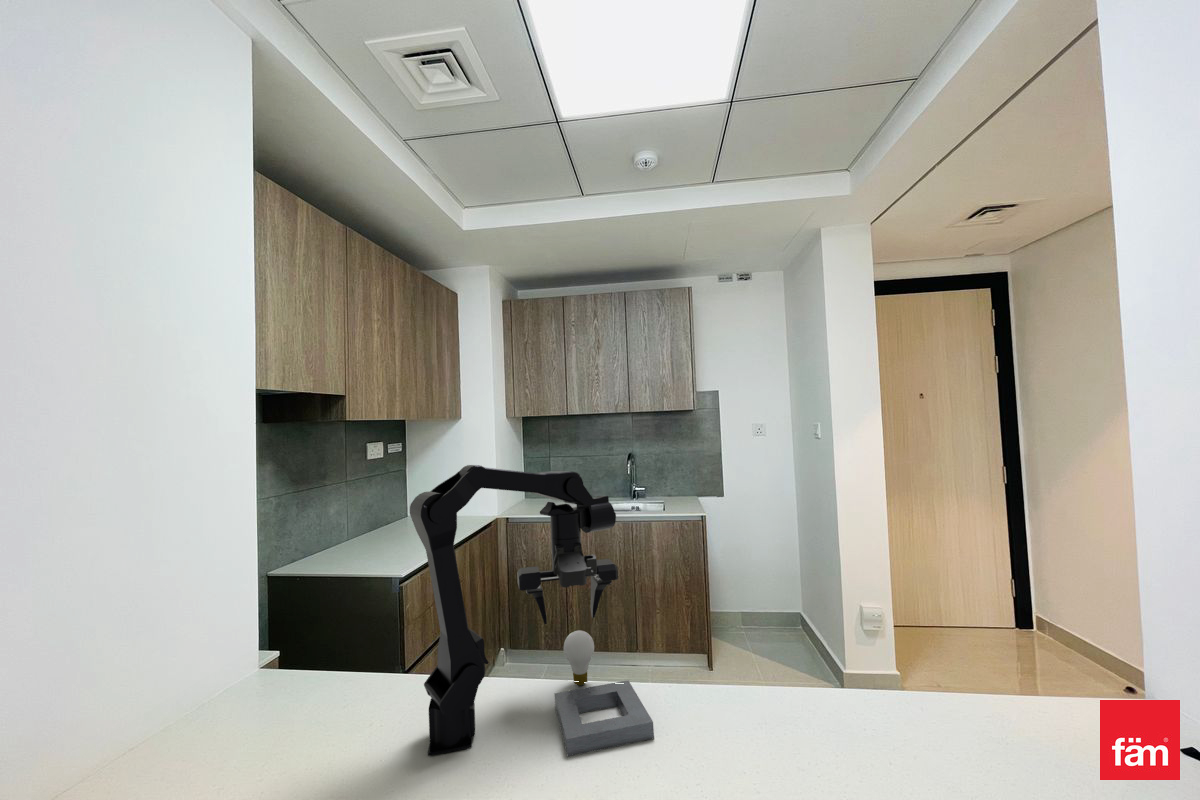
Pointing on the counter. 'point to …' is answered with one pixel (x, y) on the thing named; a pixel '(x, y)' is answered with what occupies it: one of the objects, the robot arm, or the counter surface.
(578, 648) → the light bulb
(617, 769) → the counter surface
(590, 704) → the socket collar
